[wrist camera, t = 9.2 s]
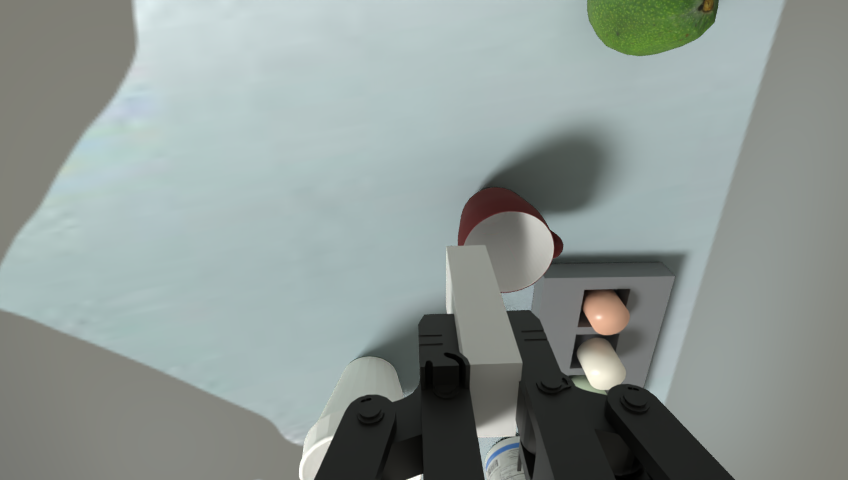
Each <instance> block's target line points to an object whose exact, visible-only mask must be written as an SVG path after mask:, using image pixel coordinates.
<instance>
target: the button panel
mask: <svg viewBox="0 0 848 480" xmlns="http://www.w3.org/2000/svg"><path fill="white" fill-rule="evenodd" d="M674 279H675V275H674V274H673V273H672V272H671V271H670V270H669V269H668V268H667V267H666V266H665V265H664V264H663V263H662V262H643V263H572V264H551V265H550V267H549V268H548V270H547V271H546V273H545V274H544V275H543V276H542V277H541V278H540V279H539V280H538V281H537V282H535V286H534V293H533V301H532V309H531V312H532V313H533V314H534V315H535V316H537V317H538V318H539V319H540V321H541V324H542V326H543V329H544V332H545V334H546V336H547V338H548V341H549V343H550V346H551V348H552V351H553V353H554V355H555V358H556V360H557V363H558V365H559V368H560V370H561V372H563V373H564V374H566V375H567V376H568V375H586V374H585V372H584V370H583V368H582V366H581V364H580V362H579V359H578V357H577V350H578V348H579V346H580V345H581V344H582V343H583V342H585V341H587V340H589V339H592V338H603V339H606V340H607V341H609V343H610V344H611V346H612V347H613V349H614V351H615V352H616V354H617V356H618V358H619V359H620V361H621V363H622V364H623V366H624V368H625V370H626V377H625V379H624V380H623V382H622V383H621V384H631V385H636V386H639V387H642V388H643V387H644V384H645V380H646V377H647V373H648V370H649V366H650V363H651V359H652V356H653V352H654V349H655V345H656V342H657V339H658V335H659V332H660V328H661V325H662V321H663V318H664V314H665V311H666V307H667V304H668V300H669V297H670V293H671V290H672V286H673V283H674ZM592 289H613V290H614V291H615V293H616V294H617V296H618V297H619V298H620V300H621V301H622V303H623V304H624V306H625V307H626V308H627V310H628V311H629V314H630V319H629V322H628V324H627V326H626V327H625V328H624V329H623V330H621V331H620V332H618V333H616V334H612V335H602V334H599V333H597V332H596V331H595V330H594V329H593V327H592V325H591V324H590V322H589V320H588V318H587V317H586V315H585V313H584V311H583V309H582V308H581V305H582V300H583V295H584V290H592ZM609 390H610V389H609ZM609 390H605V392H606V394H607V393H608V392H609Z"/></svg>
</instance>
